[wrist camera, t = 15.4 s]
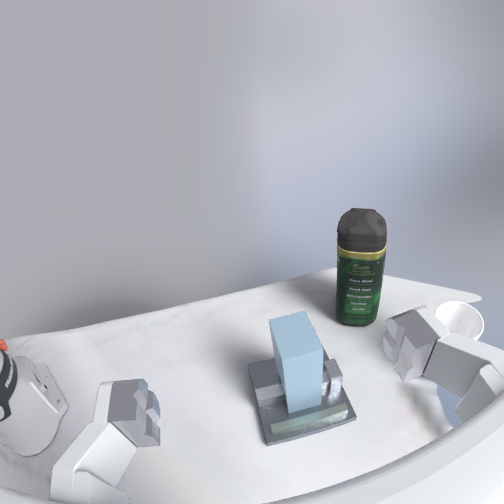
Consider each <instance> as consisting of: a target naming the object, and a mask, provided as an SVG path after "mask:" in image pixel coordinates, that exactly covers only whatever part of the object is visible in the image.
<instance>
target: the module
mask: <svg viewBox="0 0 504 504" xmlns="http://www.w3.org/2000/svg"><path fill="white" fill-rule="evenodd" d="M269 324H270V331H271V337H272V343H273V350H274V356H275V363H276V369H277V376H278V380H279V383H280V382H281V383H282V386H283V390H284V393H285V397H286V404H287V410H288V413H292V412H296V411H299V410H303V409H307V408H310V407H313V406H317V405H320V404H321V396H322V377H323V350H324V349H323V347H322V345H321V343H320V340H319V338H318V336H317V334H316V332H315V330H314V328H313V326H312V324H311V322H310V320H309V318H308V316H307V314H306V311H302V312H298V313H294V314H290V315H286V316H282V317H278V318H274V319H270V320H269Z"/></svg>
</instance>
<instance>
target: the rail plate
mask: <svg viewBox="0 0 504 504" xmlns="http://www.w3.org/2000/svg"><path fill="white" fill-rule="evenodd" d="M322 347H323V345H322ZM323 349H324V348H323ZM248 366H249V371H250V375H251V379H252V383H253V388H254V392H255V396H256V400H257V404H258V409H259V413H260V417H261V421H262V425H263V429H264V433H265V437H266V441H267V445H268V446H270V445H274V444H279V443H283V442H287V441H290V440H294V439H298V438H302V437H305V436H308V435H312V434H315V433H318V432H322V431H325V430H328V429H331V428H334V427H337V426H340V425H343V424H346V423H348V422H351V421H354V420H356V417H357V416H356V414H355V412H354V410H353V408H352V406H351V403H350V401H349V399H348V397H347V395H346V393H345V391H344V389H343V387H342V378H343V375H342V373H341V371H340V369H339V367H338V365H337V363H336V361H335V359H331V360H329V358H328V356H327V354H326V352H325V350H323V377H322V396H321V404H320V405H317V406H313V407H310V408H307V409H303V410H299V411H296V412H292V413H288V410H287V404H286V397H285V393H284V390H283V386H282V383H281V382H280V383H279V380H278V376H277V369H276V363H275V358H274V359H270V360H266V361H262V362H258V363H253V364H249V365H248Z"/></svg>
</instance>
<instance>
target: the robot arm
mask: <svg viewBox="0 0 504 504" xmlns="http://www.w3.org/2000/svg"><path fill="white" fill-rule="evenodd" d="M385 327H386V328H387V330H388V331H387V332H386V333H385V335H384V336H383V342H382V344H383V350H384V352H385V355H386V357H387V358H388V360H389V361H391V362H394V363H396V364H395V371H396V372H397V374H398V375H399V377H400V378H401V380H402V381H403V383H404V382H407V381H409V380H411V379H414V378H416V377H418V376H420V375H423V376H425V377H426V378H428V379H430V380H431V381H433V382H435V383H437V384H438V385H440V386H442V387H444V388H446V389H447V390H449V391H451V392H452V393H454V394H456V395H458V396H459V397H461V398H462V399H461V400H460V402H459V403H458V405H457V406H456V408H455V412H456V414H457V415H458V417H459V419H460V420H461V422H462V423H461V424H459V425H458V426H456V427H455V428H453V429H452V430H450V431H448V432H447V433H445V434H444V435H442V436H440V437H439V438H437V439H435V440H433V441H432V442H430V443H428V444H426V445H424V446H423V447H421V448H419V449H417V450H415V451H413V452H411V453H409V454H407V455H405V456H403V457H401V458H399V459H397V460H395V461H393V462H391V463H389V464H386V465H384V466H382V467H380V468H377V469H375V470H373V471H370V472H368V473H365V474H363V475H360V476H358V477H355V478H353V479H350V480H347V481H344V482H341V483H339V484H336V485H333V486H330V487H327V488H323V489H320V490H317V491H313V492H310V493H306V494H303V495H299V496H295V497H291V498H287V499H283V500H278V501H274V502H269V503H264V504H504V350H501V349H498V348H496V347H493V346H490V345H487V344H485V343H482V342H480V341H477V340H475V339H472V338H469V337H467V336H464V335H461V334H459V333H456V332H452V333H451V332H450V331H449V330H448V329H447V328H446V327H445V325H444V324H443V323H442V322H441V321H440V320H439V319H438V318H437V317H436V315H435V314H434V313H433V312H432V311H431V310H430V309H429V308H428V307H427V306H425V305H422V306H420V307H417V308H415V309H412V310H409V311H406V312H404V313H401V314H399V315H396V316H394V317H391V318H389V319H388V320H387V321H386V326H385ZM6 350H7V345H6V343H5V342H4V340H2V339H1V340H0V442H1V443H2V444H4V445H8V446H9V447H10V448H11V449H12V450H13V451H14V452H15V453H17V454H19V455H22V456H32V455H35V454H38V453H40V452H41V451H43V450H44V449H45V448H46V447H47V446H48V445H49V444H50V443H51V441H52V440H53V438H54V436H55V434H56V432H57V429H58V425H59V422H60V419H61V417H62V416H63V415H64V413H65V412H66V410H67V408H68V404H67V402H66V400H65V399H64V397H63V395H62V394H61V392H60V390H59V388H58V386H57V385H56V383H55V381H54V379H53V377H52V375H51V373H50V371H49V369H48V368H47V366H46V365H45V364H44V363H37V364H32V363H31V362H30V360H29V359H28V358H27V357H25V356H16V357H10V356H9V355H8V354H6V353H5V352H4V351H6ZM159 418H160V408H159V403H158V400H157V398H156V396H155V394H154V393H153V392H151V391H149V390H148V384H147V383H146V381H145V380H144V379H134V380H123V381H111V382H102V383H101V384H100V385H99V389H98V394H97V399H96V405H95V411H94V417H93V423H88V425H87V426H86V427H85V428H84V429H83V431H82V432H81V433H80V434H79V436H78V437H77V438H76V439H75V440H74V442H73V443H72V444H71V445H70V447H69V448H68V449H67V450H66V452H65V453H64V454H63V455H62V456H61V458H60V459H59V460H58V461H57V463H56V464H55V465H54V466H53V471H52V479H51V487H50V496H49V500H46V499H42V498H38V497H34V496H31V495H27V494H24V493H21V492H18V491H14V490H11V489H8V488H6V487H3V486H0V504H130V503H129V497H128V496H127V495H126V494H124V493H123V492H121V491H119V490H117V489H115V488H116V486H117V484H118V483H119V481H120V479H121V477H122V475H123V474H124V472H125V470H126V468H127V467H128V465H129V463H130V461H131V460H132V458H133V456H134V454H135V453H136V451H137V449H138V448H137V447H148V446H159V445H160V428H159V427H158V426H157V425H156V422H157V421H158V420H159Z"/></svg>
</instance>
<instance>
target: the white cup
mask: <svg viewBox="0 0 504 504" xmlns="http://www.w3.org/2000/svg"><path fill="white" fill-rule="evenodd" d="M434 314H435V315H436V317H437V318H438V319H439V320H440V321H441V322H442V323H443V324H444V325H445V327H446V328H447V329H448V330H449V331H450V332H451V333H452V332H456V333H459V334H461V335H464V336H467V337H469V338H472V339H475V340H477V341H478V339H479V337H480V336H481V334H482V332H483V329H484V322H483V319H482V316H481V315H480V313H479V312H478V311H477V310H476V309H475V308H474V307H472V306H470V305H468V304H466V303H463V302H459V301H449V302H445V303H443V304H441V305H440V306H439V307H438V308H437V309H436V311H435V313H434Z"/></svg>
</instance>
